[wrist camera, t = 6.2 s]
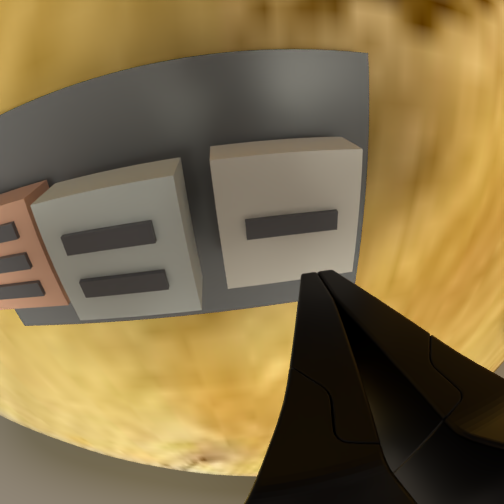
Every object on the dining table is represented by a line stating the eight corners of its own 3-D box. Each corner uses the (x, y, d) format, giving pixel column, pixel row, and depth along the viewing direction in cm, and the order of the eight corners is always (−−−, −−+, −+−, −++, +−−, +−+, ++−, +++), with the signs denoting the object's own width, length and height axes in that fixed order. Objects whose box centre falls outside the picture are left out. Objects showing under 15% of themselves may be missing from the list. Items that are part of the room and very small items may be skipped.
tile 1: (329, 130, 12) (365, 150, 9) (327, 232, 15) (354, 274, 12) (210, 139, 12) (209, 162, 9) (224, 244, 15) (228, 292, 12)
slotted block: (59, 169, 12) (21, 201, 9) (89, 262, 14) (67, 308, 11) (-12, 192, 11) (-50, 224, 8) (20, 272, 14) (-6, 312, 11)
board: (355, 54, 11) (368, 53, 10) (346, 279, 17) (353, 292, 16) (-38, 137, 10) (-52, 144, 9) (31, 313, 16) (24, 325, 15)
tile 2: (184, 148, 11) (172, 177, 8) (203, 259, 14) (201, 313, 11) (68, 172, 11) (27, 208, 8) (101, 271, 14) (79, 323, 11)
